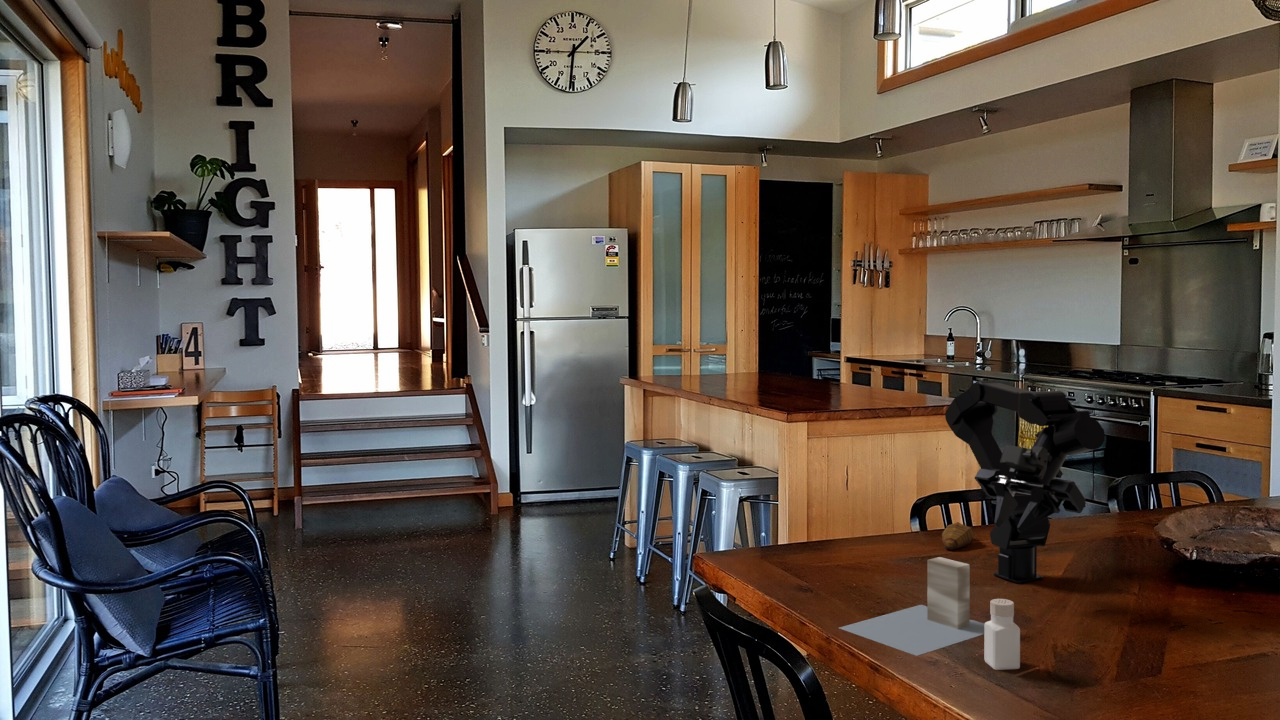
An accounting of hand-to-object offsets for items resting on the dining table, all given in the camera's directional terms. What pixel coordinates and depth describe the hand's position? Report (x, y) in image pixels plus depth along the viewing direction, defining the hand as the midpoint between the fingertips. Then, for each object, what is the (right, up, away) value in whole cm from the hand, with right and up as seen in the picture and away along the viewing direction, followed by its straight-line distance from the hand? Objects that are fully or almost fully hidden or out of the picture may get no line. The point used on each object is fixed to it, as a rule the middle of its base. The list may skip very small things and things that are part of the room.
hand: (1007, 528), depth 173 cm
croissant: (+5, -11, +44) cm, 46 cm away
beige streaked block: (-13, -14, -8) cm, 20 cm away
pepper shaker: (-10, -16, -27) cm, 33 cm away
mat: (-18, -15, -10) cm, 25 cm away
